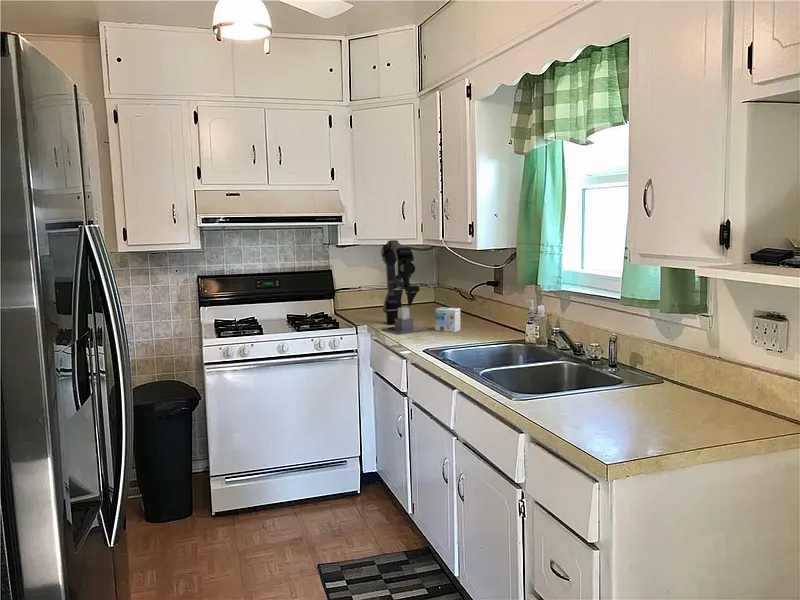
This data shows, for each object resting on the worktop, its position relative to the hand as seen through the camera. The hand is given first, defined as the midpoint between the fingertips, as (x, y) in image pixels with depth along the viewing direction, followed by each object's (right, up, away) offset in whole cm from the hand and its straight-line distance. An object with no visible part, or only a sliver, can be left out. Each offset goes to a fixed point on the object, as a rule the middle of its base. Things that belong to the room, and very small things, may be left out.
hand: (404, 305), depth 327 cm
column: (0, -11, +1) cm, 11 cm away
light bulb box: (+21, -13, 0) cm, 25 cm away
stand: (0, -13, +1) cm, 13 cm away
